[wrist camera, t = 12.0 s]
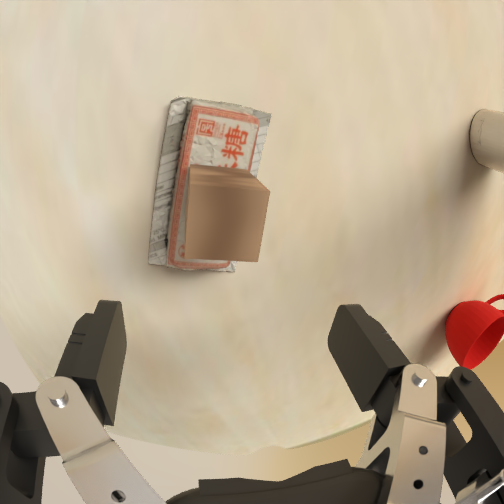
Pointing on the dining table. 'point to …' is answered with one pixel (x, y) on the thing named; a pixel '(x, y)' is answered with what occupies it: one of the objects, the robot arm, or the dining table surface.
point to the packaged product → (199, 153)
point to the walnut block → (224, 214)
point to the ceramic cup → (474, 331)
